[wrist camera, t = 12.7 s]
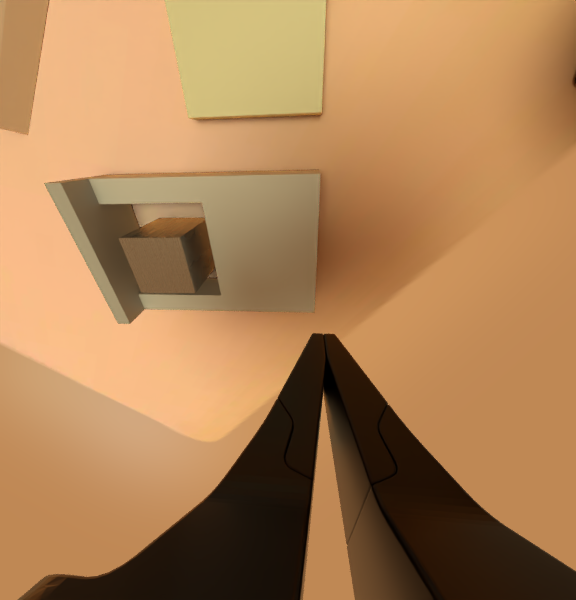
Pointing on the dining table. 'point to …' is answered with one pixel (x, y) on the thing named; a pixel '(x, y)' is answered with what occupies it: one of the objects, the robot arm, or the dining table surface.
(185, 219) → the block
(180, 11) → the pad
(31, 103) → the beige half-round holder
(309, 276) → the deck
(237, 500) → the robot arm
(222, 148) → the dining table surface
